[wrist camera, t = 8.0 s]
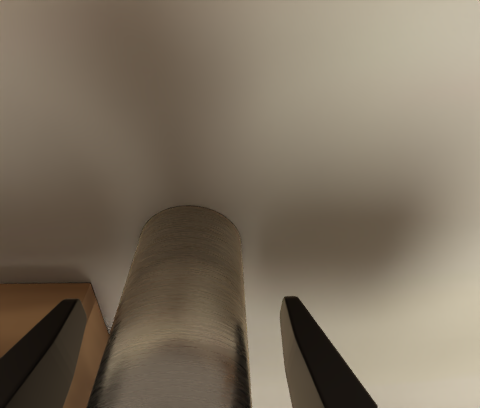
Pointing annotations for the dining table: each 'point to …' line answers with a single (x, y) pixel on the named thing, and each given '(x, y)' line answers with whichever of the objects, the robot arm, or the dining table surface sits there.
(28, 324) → the dock block
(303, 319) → the robot arm
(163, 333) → the peg
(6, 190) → the dining table surface
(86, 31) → the dining table surface
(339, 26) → the dining table surface
